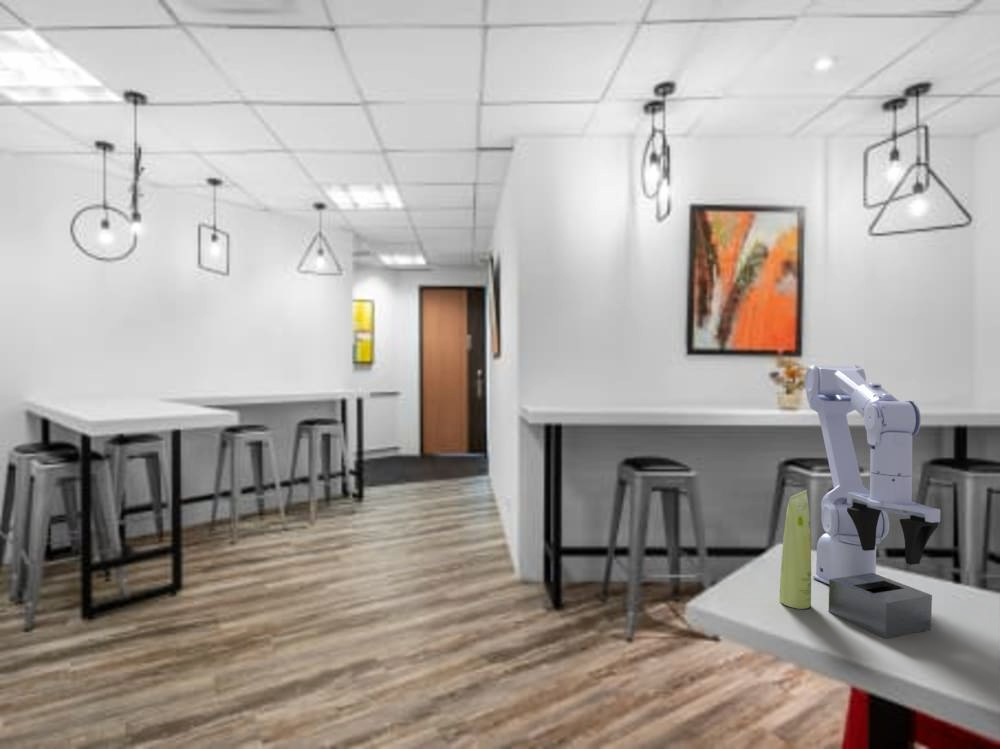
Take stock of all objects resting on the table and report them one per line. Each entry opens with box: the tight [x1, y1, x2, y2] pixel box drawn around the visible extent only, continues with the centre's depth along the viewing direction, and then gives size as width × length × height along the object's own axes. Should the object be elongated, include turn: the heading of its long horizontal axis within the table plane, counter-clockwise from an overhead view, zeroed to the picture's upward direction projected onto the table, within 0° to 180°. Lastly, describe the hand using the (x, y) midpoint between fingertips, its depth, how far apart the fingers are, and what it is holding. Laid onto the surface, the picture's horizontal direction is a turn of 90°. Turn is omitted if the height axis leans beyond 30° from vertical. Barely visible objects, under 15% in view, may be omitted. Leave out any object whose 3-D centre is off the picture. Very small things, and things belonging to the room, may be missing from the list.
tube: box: [779, 489, 812, 610], centre depth 100 cm, size 6×5×20 cm
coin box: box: [828, 573, 933, 639], centre depth 94 cm, size 10×10×6 cm
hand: (889, 556), depth 95 cm, fingers open, 7 cm apart
